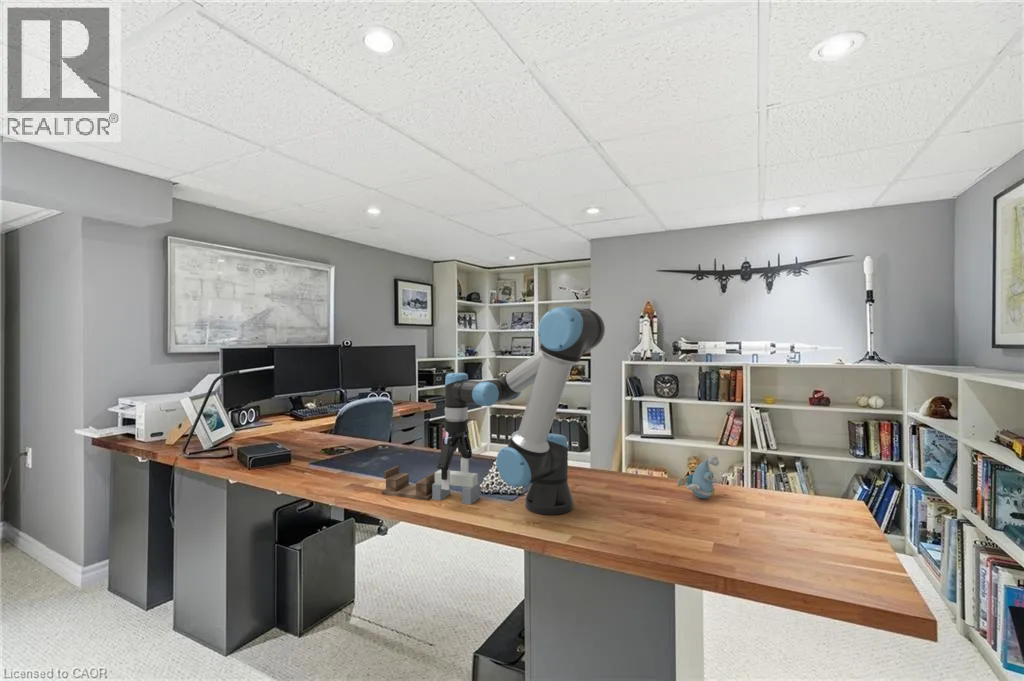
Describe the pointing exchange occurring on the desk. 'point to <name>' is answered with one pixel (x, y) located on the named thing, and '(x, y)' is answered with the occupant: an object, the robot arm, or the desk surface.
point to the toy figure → (701, 479)
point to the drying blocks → (467, 493)
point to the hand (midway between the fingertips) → (455, 483)
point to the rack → (407, 485)
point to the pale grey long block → (459, 478)
